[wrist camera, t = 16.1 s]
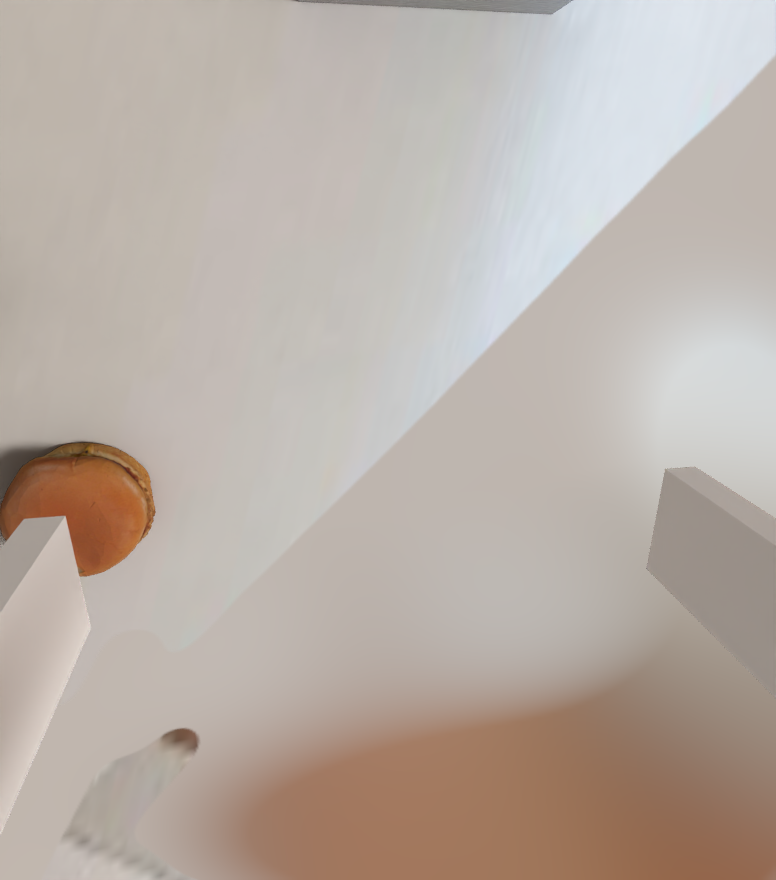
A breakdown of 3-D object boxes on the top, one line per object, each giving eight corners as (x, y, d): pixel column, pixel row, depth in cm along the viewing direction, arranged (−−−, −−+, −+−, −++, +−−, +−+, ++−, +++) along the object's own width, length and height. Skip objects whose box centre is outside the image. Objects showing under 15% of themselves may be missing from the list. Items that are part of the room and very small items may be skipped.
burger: (135, 427, 43) (120, 453, 39) (171, 536, 47) (160, 570, 43) (-6, 453, 42) (-38, 482, 38) (41, 562, 46) (17, 599, 42)
